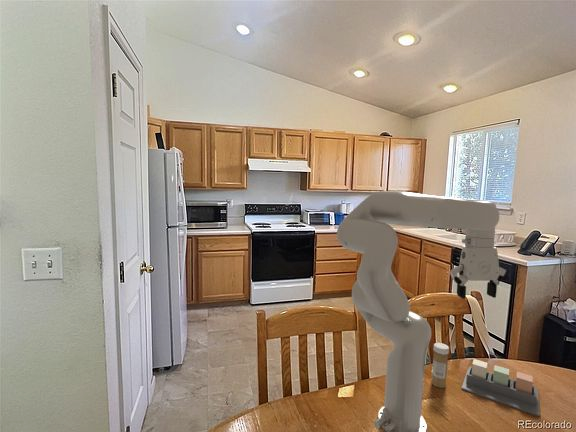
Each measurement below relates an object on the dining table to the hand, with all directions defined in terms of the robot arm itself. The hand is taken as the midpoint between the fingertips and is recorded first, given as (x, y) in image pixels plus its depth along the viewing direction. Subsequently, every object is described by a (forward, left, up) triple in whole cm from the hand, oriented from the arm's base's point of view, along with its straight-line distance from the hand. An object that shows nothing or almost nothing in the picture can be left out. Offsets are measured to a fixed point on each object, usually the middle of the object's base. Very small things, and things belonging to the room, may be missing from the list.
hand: (476, 296), depth 99 cm
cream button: (+8, +1, -29) cm, 30 cm away
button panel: (+10, -5, -32) cm, 34 cm away
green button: (+10, -5, -29) cm, 31 cm away
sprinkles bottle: (-3, +8, -32) cm, 33 cm away
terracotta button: (+12, -11, -29) cm, 33 cm away
